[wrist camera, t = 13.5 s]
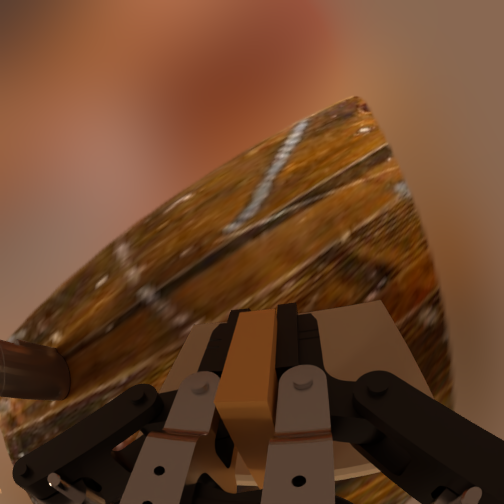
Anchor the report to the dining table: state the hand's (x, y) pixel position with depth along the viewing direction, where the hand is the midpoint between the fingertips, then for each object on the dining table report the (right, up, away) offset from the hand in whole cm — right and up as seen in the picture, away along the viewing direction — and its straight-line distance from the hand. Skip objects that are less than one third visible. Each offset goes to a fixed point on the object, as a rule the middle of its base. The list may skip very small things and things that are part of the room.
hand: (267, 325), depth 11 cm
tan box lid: (+1, -5, +3) cm, 6 cm away
